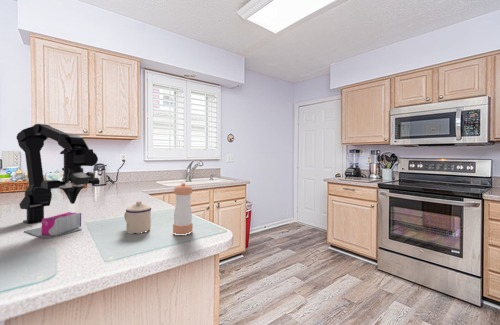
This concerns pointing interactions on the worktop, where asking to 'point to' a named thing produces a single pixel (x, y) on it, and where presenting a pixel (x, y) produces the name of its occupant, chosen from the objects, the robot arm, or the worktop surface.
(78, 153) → the robot arm
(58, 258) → the worktop surface
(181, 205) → the pepper shaker
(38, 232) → the slate mat
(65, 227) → the supplement box
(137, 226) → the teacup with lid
